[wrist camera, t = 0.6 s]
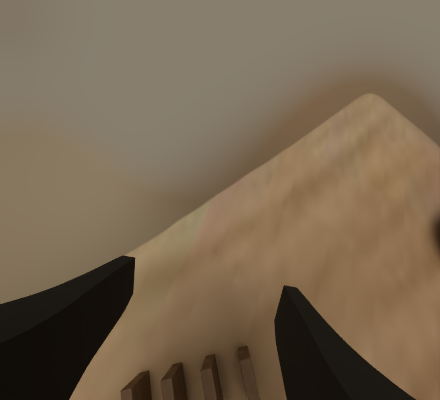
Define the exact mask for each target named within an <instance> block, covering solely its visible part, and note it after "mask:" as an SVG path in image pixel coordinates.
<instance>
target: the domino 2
mask: <svg viewBox="0 0 440 400" xmlns="http://www.w3.org/2000/svg"><path fill="white" fill-rule="evenodd" d="M161 387H162V395H163V400H187V394H186V387H185V381H184V374H183V367H182V363H178V364H174V365H172V367H171V368H170V369H169V371H168V372H167V373H166V375H165V376H164V377H163V379H162V380H161Z"/></svg>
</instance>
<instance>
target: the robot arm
mask: <svg viewBox="0 0 440 400" xmlns="http://www.w3.org/2000/svg"><path fill="white" fill-rule="evenodd" d="M134 270H135V258H134V257H129V256H121V257H118V258H116V259H114V260H112V261H110V262H108V263H106V264H104V265H102V266H100V267H98V268H96V269H94V270H92V271H90V272H88V273H86V274H83V275H81V276H79V277H77V278H74V279H72V280H70V281H67V282H65V283H63V284H60V285H58V286H56V287H53V288H50V289H48V290H45V291H42V292H39V293H36V294H34V295H30V296H27V297H24V298H20V299H17V300H14V301H10V302H7V303H3V304H0V400H69V399H70V397H71V395H72V393H73V391H74V390H75V388H76V386H77V384H78V382H79V381H80V379H81V377H82V375H83V373H84V372H85V370H86V368H87V366H88V365H89V363H90V362H91V360H92V358H93V357H94V355H95V354H96V352H97V351H98V349H99V348H100V347H101V345H102V344H103V342H104V341H105V339H106V338H107V336H108V335H109V333H110V332H111V330H112V329H113V327H114V326H115V324H116V323H117V321H118V320H119V318H120V317H121V315H122V314H123V312H124V310H125V309H126V307H127V305H128V303H129V301H130V299H131V297H132V295H133V288H134ZM274 322H275V337H276V345H277V351H278V356H279V361H280V366H281V372H282V377H283V382H284V387H285V392H286V397H287V400H416V399H414V398H413V397H411V396H410V395H409V394H407V393H406V392H405V391H403V390H402V389H401V388H399V387H398V386H396V385H395V384H394V383H393V382H391V381H390V380H389V379H388V378H386V377H385V376H384V375H383V374H381V373H380V372H379V371H378V370H376V369H375V368H374V367H373V366H372V365H370V364H369V363H368V362H367V361H366V360H365V359H363V358H362V357H361V356H360V355H359V354H358V353H357V352H356V351H355V350H354V349H352V348H351V347H350V346H349V345H348V344H347V343H346V342H345V341H344V340H343V339H342V338H341V337H340V336H339V335H338V334H337V333H336V332H335V331H334V330H333V329H332V328H331V326H330V325H329V324H328V323H327V322H326V321H325V320H324V319H323V318H322V316H321V315H320V314H319V313H318V312H317V311H316V310H315V308H314V307H313V306H312V305H311V304H310V302H309V301H308V300H307V299H306V298H305V296H304V295H303V294H302V293H301V292H300V291H299V289H298V288H296V287H290V286H285V285H284V287H283V290H282V294H281V298H280V302H279V305H278V309H277V313H276V316H275V320H274Z"/></svg>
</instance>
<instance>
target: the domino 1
mask: <svg viewBox="0 0 440 400" xmlns="http://www.w3.org/2000/svg"><path fill="white" fill-rule="evenodd" d="M121 400H152V396H151V387H150V377H149V371H146V372H142V373H139V374H138V375H137V376H136V377H135V378H134V379H133V380H132V381H131V382H130V383H129V384H128V385H126V386H125V387H124V388H123V389H122V390H121Z"/></svg>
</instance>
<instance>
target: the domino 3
mask: <svg viewBox="0 0 440 400" xmlns="http://www.w3.org/2000/svg"><path fill="white" fill-rule="evenodd" d="M201 376H202V382H203V388H204V394H205V399H206V400H223V396H222V391H221V386H220V380H219V375H218V370H217V365H216V359H215V354H213V355H209V356H206V357H205V360H204V363H203V366H202V368H201Z"/></svg>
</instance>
